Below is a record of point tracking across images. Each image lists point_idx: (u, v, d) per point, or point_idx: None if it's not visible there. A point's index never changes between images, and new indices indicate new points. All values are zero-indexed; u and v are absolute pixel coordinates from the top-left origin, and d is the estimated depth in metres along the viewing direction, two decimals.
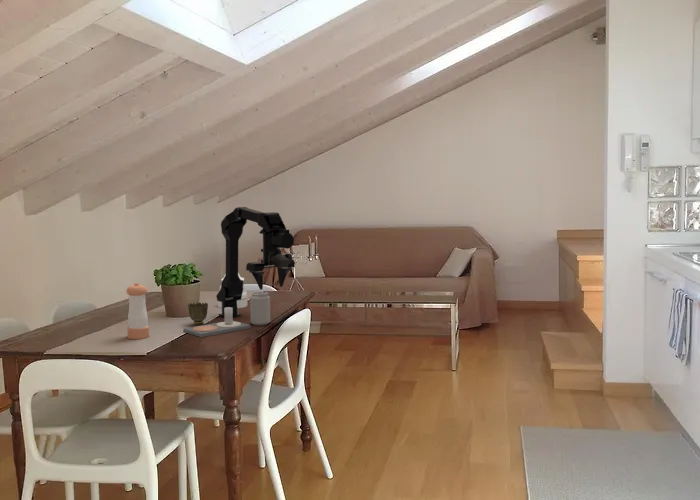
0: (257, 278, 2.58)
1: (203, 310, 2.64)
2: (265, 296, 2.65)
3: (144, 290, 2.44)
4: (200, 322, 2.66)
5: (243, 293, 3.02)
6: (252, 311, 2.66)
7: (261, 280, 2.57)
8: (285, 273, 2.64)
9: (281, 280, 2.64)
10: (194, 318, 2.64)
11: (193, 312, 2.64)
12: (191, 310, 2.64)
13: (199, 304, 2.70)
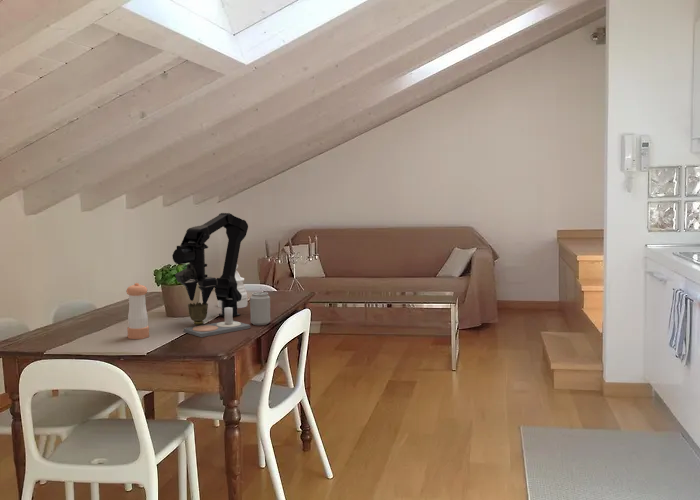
0: None
1: (203, 310, 2.64)
2: (265, 296, 2.65)
3: (144, 290, 2.44)
4: (200, 322, 2.66)
5: (243, 293, 3.02)
6: (252, 311, 2.66)
7: (187, 291, 2.69)
8: (202, 291, 2.61)
9: None
10: (194, 318, 2.64)
11: (193, 312, 2.64)
12: (191, 310, 2.64)
13: (199, 304, 2.70)
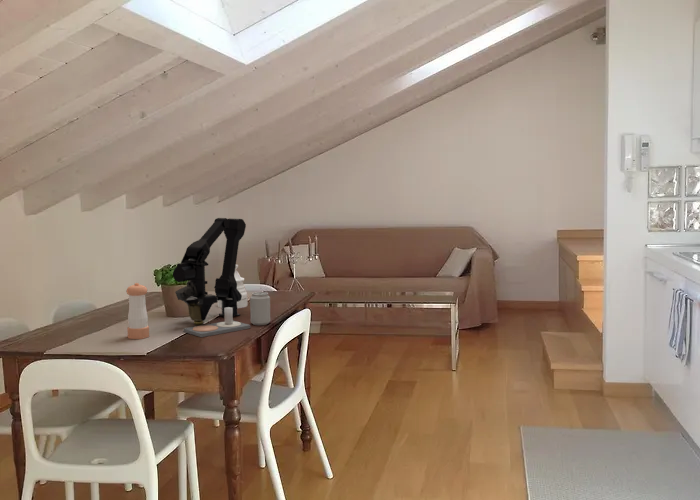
0: None
1: None
2: (265, 296, 2.65)
3: (144, 290, 2.44)
4: (200, 322, 2.66)
5: (243, 293, 3.02)
6: (252, 311, 2.66)
7: None
8: (200, 308, 2.62)
9: None
10: (194, 318, 2.64)
11: (193, 312, 2.64)
12: (191, 310, 2.64)
13: None
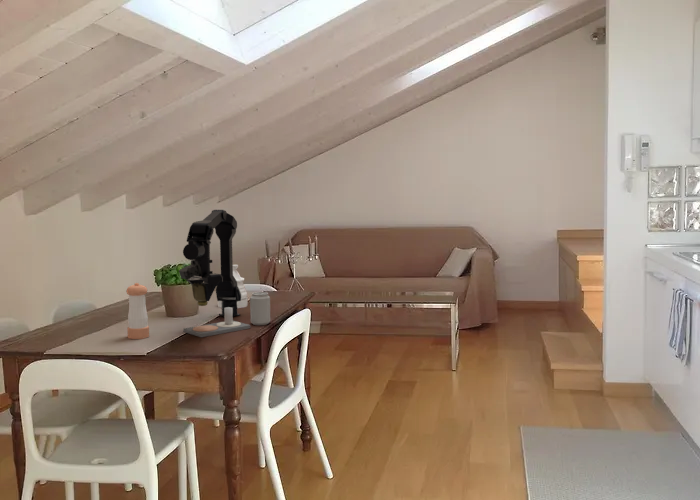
0: None
1: None
2: (265, 296, 2.65)
3: (144, 290, 2.44)
4: (204, 303, 2.54)
5: (243, 293, 3.02)
6: (252, 311, 2.66)
7: None
8: (205, 287, 2.50)
9: None
10: (198, 298, 2.52)
11: (197, 292, 2.52)
12: (195, 290, 2.52)
13: None
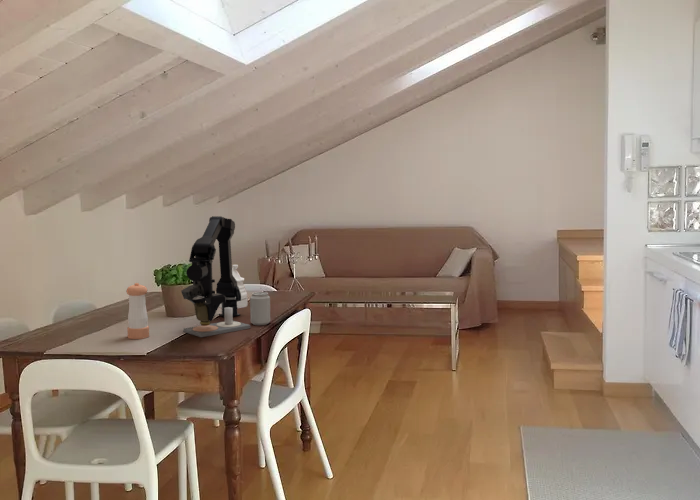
0: None
1: None
2: (265, 296, 2.65)
3: (144, 290, 2.44)
4: (207, 322, 2.53)
5: (243, 293, 3.02)
6: (252, 311, 2.66)
7: None
8: (207, 307, 2.49)
9: None
10: (201, 318, 2.51)
11: (200, 312, 2.51)
12: (197, 310, 2.51)
13: None
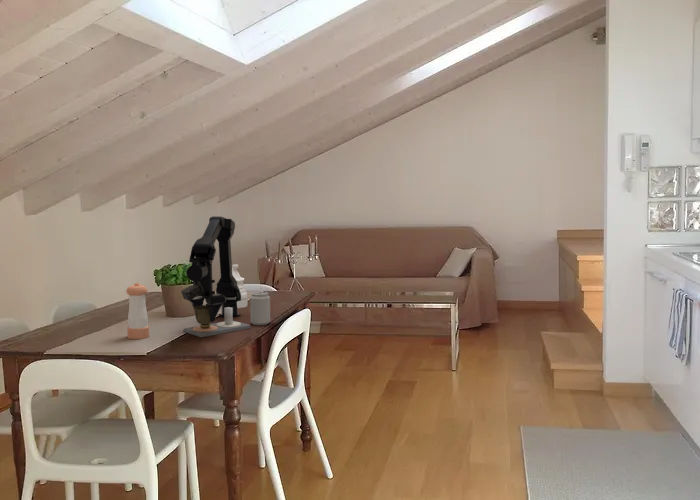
0: None
1: None
2: (265, 296, 2.65)
3: (144, 290, 2.44)
4: (207, 325, 2.53)
5: (243, 293, 3.02)
6: (252, 311, 2.66)
7: None
8: (209, 308, 2.48)
9: None
10: (201, 321, 2.51)
11: (200, 315, 2.51)
12: (197, 313, 2.51)
13: (206, 306, 2.57)
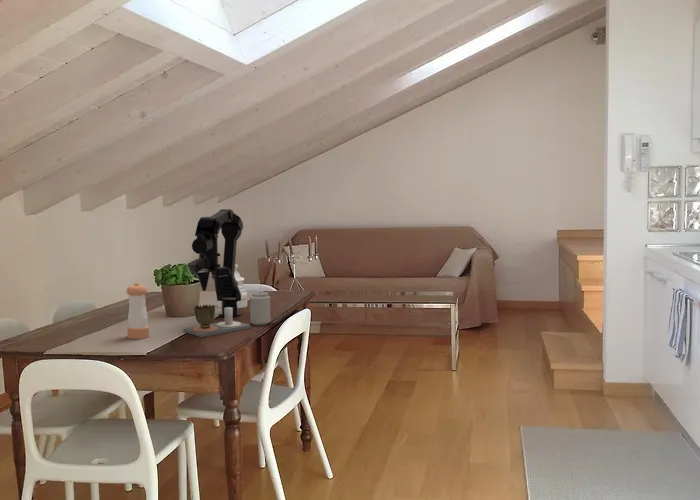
0: None
1: (210, 313, 2.51)
2: (265, 296, 2.65)
3: (144, 290, 2.44)
4: (207, 325, 2.53)
5: (243, 293, 3.02)
6: (252, 311, 2.66)
7: (200, 281, 2.65)
8: (215, 280, 2.57)
9: None
10: (201, 321, 2.51)
11: (200, 315, 2.51)
12: (197, 313, 2.51)
13: (206, 306, 2.57)
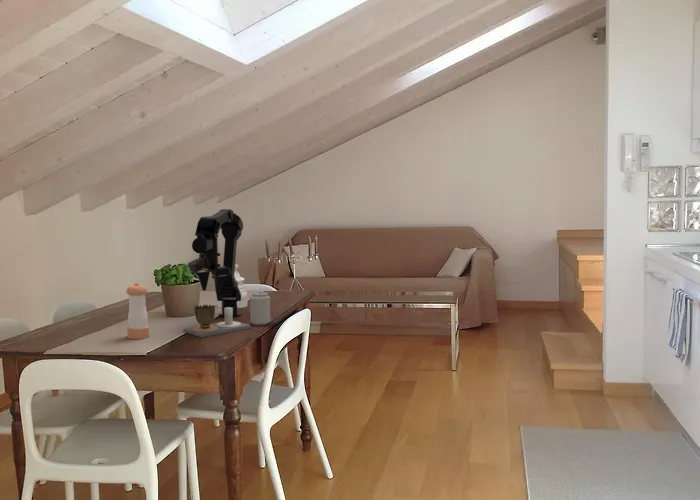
0: None
1: (210, 313, 2.51)
2: (265, 296, 2.65)
3: (144, 290, 2.44)
4: (207, 325, 2.53)
5: (243, 293, 3.02)
6: (252, 311, 2.66)
7: (200, 281, 2.65)
8: (215, 280, 2.57)
9: None
10: (201, 321, 2.51)
11: (200, 315, 2.51)
12: (197, 313, 2.51)
13: (206, 306, 2.57)
